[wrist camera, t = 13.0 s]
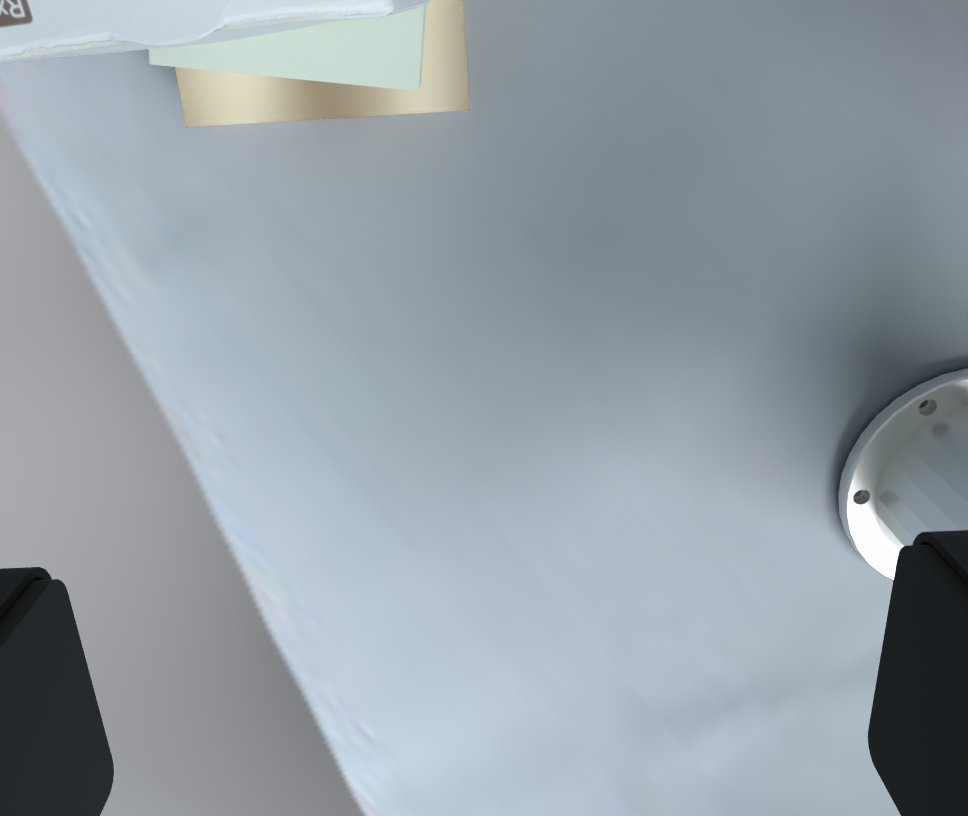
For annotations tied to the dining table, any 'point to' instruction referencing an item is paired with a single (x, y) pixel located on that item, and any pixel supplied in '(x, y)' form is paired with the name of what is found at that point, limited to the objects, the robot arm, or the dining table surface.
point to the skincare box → (163, 22)
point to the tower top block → (320, 52)
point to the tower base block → (335, 85)
